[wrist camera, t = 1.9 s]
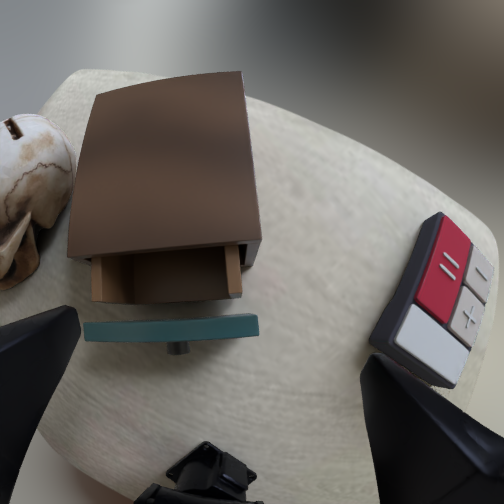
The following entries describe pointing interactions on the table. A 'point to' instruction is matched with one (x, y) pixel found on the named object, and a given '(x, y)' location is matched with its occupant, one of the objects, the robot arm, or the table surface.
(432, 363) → the calculator
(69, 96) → the table surface
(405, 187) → the table surface
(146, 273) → the drawer
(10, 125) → the coin bank
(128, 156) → the cabinet
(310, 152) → the table surface
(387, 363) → the robot arm
